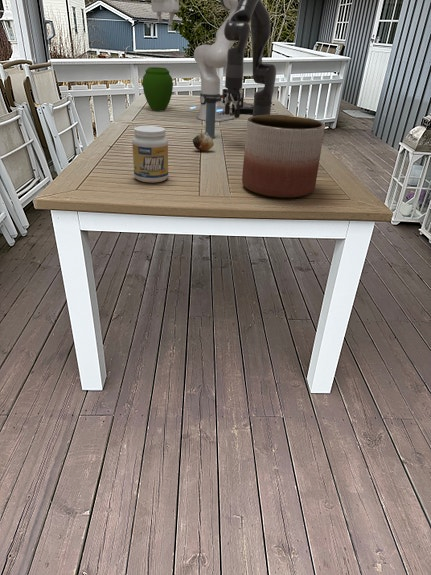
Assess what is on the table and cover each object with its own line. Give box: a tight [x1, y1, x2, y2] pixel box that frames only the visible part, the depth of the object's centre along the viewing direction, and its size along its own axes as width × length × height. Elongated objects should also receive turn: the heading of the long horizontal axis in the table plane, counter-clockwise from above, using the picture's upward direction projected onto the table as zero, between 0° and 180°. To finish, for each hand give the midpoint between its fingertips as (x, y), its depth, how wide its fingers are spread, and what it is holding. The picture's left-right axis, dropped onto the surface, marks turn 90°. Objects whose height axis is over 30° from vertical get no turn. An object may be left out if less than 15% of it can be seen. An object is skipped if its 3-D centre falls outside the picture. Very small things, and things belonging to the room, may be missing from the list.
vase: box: [141, 66, 174, 112], centre depth 261 cm, size 20×20×24 cm
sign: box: [231, 101, 254, 115], centre depth 282 cm, size 19×3×30 cm
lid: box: [205, 97, 217, 103], centre depth 198 cm, size 6×6×2 cm
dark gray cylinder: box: [204, 102, 216, 139], centre depth 202 cm, size 5×5×18 cm
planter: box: [241, 114, 326, 199], centre depth 138 cm, size 25×25×22 cm
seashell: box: [192, 132, 215, 152], centre depth 181 cm, size 10×6×8 cm, turn 97°
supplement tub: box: [131, 125, 169, 183], centre depth 142 cm, size 12×12×17 cm
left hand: (165, 23), depth 208 cm, fingers open, 8 cm apart
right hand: (231, 116), depth 185 cm, fingers open, 8 cm apart
